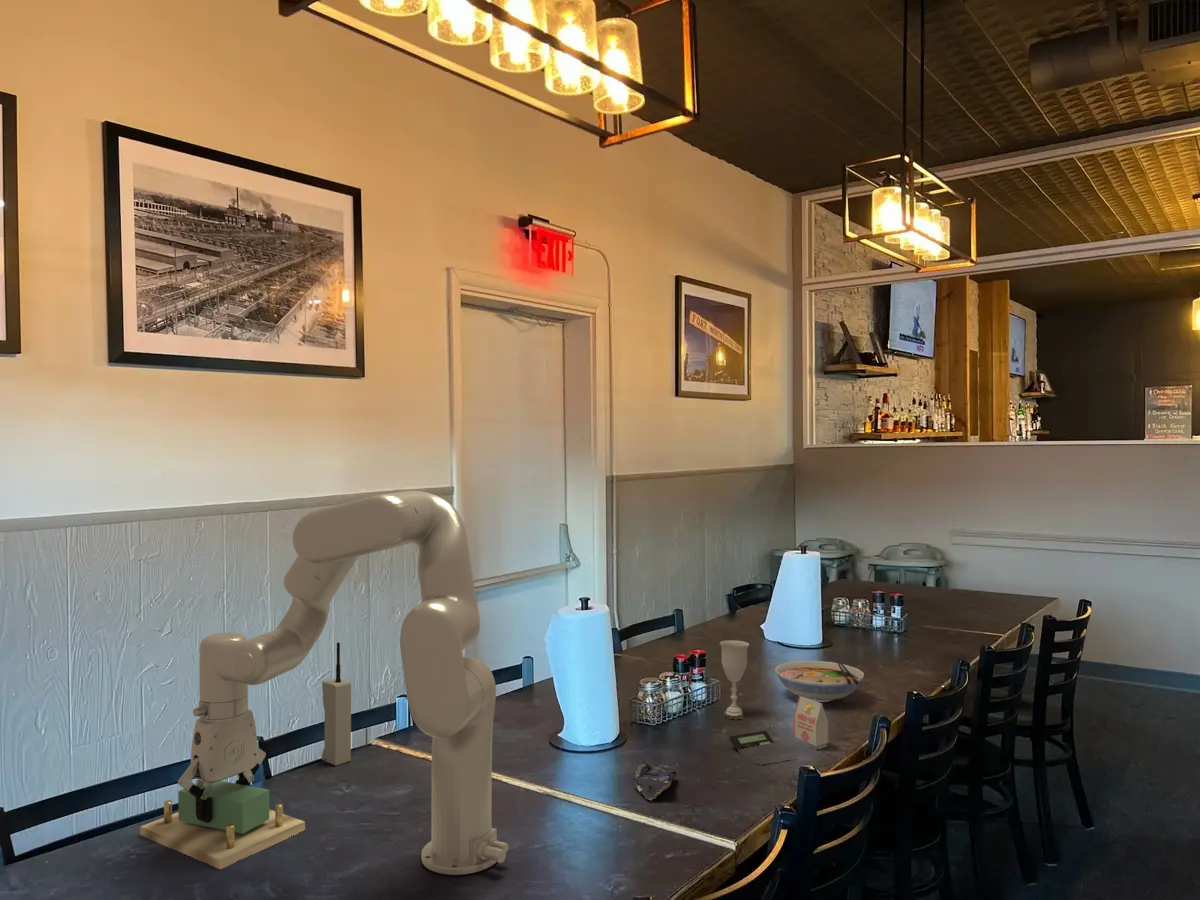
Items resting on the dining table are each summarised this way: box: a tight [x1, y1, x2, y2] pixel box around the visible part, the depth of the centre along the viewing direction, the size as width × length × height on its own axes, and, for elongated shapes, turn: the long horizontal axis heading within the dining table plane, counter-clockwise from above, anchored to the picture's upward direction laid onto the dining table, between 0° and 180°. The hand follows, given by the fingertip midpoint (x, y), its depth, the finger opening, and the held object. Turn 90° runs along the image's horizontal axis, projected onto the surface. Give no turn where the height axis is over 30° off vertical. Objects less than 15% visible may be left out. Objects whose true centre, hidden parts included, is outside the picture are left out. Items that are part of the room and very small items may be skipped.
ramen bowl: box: [774, 659, 865, 701], centre depth 223 cm, size 25×23×8 cm
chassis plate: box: [139, 800, 306, 870], centre depth 144 cm, size 22×16×5 cm
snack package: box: [633, 761, 678, 801], centre depth 164 cm, size 12×6×12 cm
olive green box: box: [177, 780, 270, 834], centre depth 144 cm, size 14×6×5 cm, turn 69°
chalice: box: [719, 639, 750, 716], centre depth 208 cm, size 7×7×18 cm
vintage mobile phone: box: [321, 642, 352, 767], centre depth 178 cm, size 4×5×25 cm
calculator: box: [729, 730, 775, 750], centre depth 183 cm, size 9×12×3 cm
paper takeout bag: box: [793, 696, 829, 746], centre depth 189 cm, size 4×7×10 cm, turn 32°
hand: (223, 811), depth 144 cm, fingers closed on olive green box, 6 cm apart
